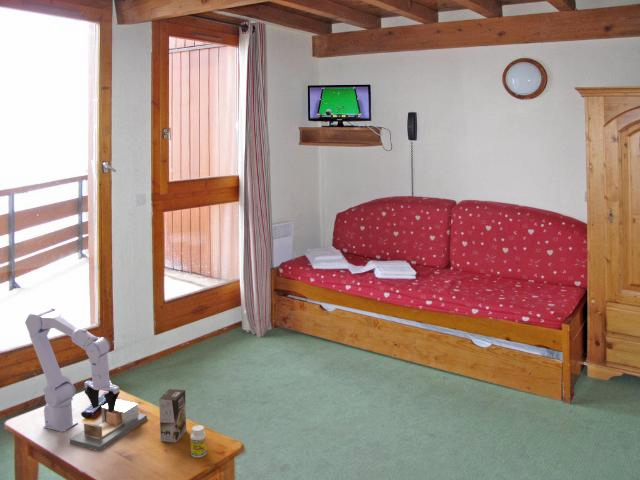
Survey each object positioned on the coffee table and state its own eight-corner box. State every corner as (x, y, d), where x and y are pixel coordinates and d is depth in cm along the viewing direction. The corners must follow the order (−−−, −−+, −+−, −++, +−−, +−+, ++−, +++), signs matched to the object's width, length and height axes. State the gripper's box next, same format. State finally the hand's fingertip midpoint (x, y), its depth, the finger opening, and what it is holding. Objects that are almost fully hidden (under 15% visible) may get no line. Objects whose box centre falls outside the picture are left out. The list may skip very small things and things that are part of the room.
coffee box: (177, 443, 229) (175, 400, 226) (159, 441, 230) (158, 398, 227) (187, 431, 238) (186, 389, 235) (170, 429, 239) (169, 388, 236)
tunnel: (102, 421, 241) (101, 406, 240) (115, 413, 248) (114, 398, 247) (125, 426, 237) (124, 412, 236) (138, 418, 244) (137, 403, 243)
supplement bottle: (206, 449, 225) (205, 423, 223) (207, 457, 220) (206, 430, 218) (190, 450, 224) (189, 424, 222) (191, 458, 219) (190, 432, 217)
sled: (84, 435, 230) (83, 423, 229) (114, 416, 244) (113, 405, 244) (100, 439, 228) (99, 427, 227) (129, 420, 242) (128, 409, 241)
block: (106, 422, 239) (106, 412, 238) (115, 417, 243) (115, 407, 243) (116, 425, 237) (116, 414, 236) (125, 419, 242) (125, 409, 241)
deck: (70, 443, 228) (69, 439, 228) (119, 412, 252) (119, 408, 251) (99, 451, 223) (99, 446, 223) (147, 418, 247) (146, 415, 247)
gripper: (124, 371, 230) (127, 408, 232) (93, 366, 236) (97, 401, 239) (109, 379, 224) (112, 416, 226) (78, 372, 230) (82, 408, 233)
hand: (103, 409), depth 232 cm, fingers open, 7 cm apart
